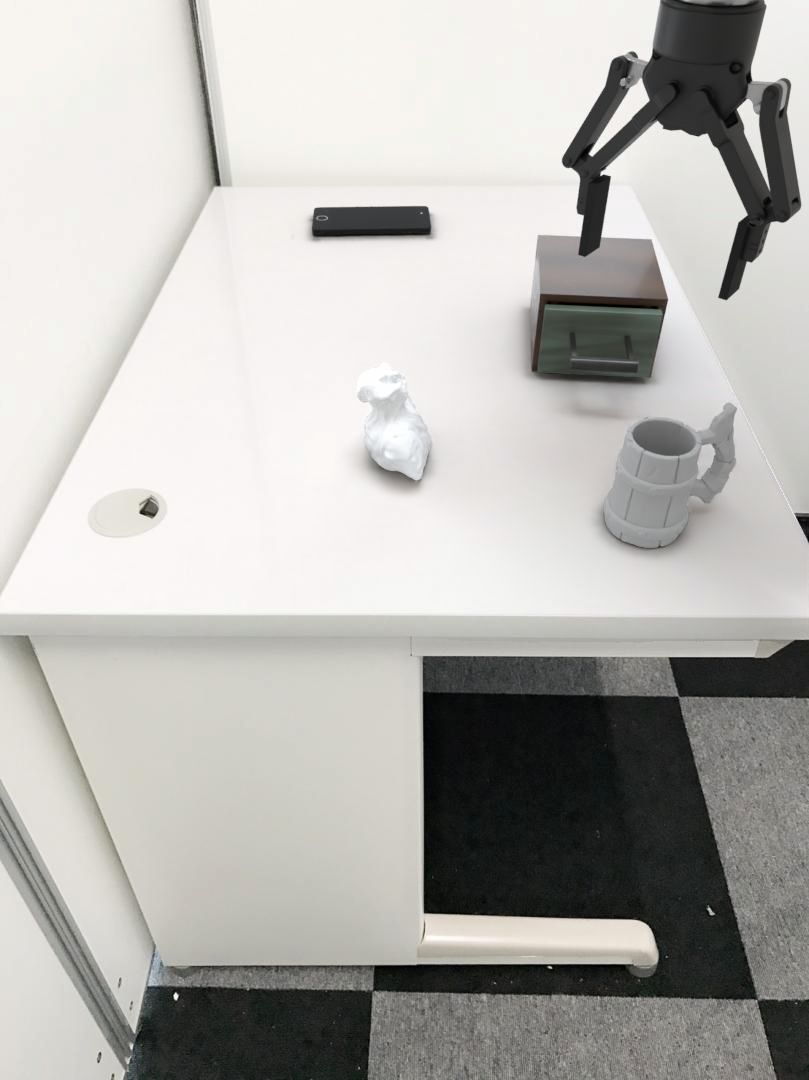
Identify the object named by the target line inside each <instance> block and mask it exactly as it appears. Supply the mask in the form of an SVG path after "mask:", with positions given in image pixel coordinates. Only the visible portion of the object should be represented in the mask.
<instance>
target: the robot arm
mask: <svg viewBox="0 0 809 1080" xmlns="http://www.w3.org/2000/svg"><path fill="white" fill-rule="evenodd" d="M766 11H767V4H766V2H765V0H659V6H658V11H657V16H656V22H655V28H654V33H653V40H652V50H651V51H652V53H651V56H650V59H649V61H647V60H644V59H641V58H639V56H638V54H637V52H635V51H633V50H632V51H628V52H626V53H625V52H624V53H622V54H621V55H619V56H616V57H614V58H613V59H611V61H610V65H609V69H608V72H607V73H608V74H607V77H606V81H605V85H604V87H603V88H602V91H601V92H600V94H599V95H598V97H597V99H596V100H595V102H594V103H593V105H592V107H591V109H590V111H589V112H588V113H587V115H586V117H585V119H584V120H583V122H582V123H581V126H580V127H579V129H578V131H577V132H576V133H575V135H574V137H573V139H572V141H571V142H570V144H569V146H567V149H566V150H565V152H564V154H563V155H562V158H561V164H562V166H563V167H564V168H566V169H571V170H573V171H574V172H576V173H577V174H578V176H579V185H578V194H577V201H576V207H575V208H576V214H577V215H581V216H583V219H582V226H581V232H580V237H581V238H580V245H579V252H578V255H580V256H584V257H586V256H587V255H589V254H590V253H592V252H593V251H595V250H596V249H598V248H599V247H600V242H601V237H602V235H603V230H604V223H605V217H606V216H605V215H606V211H607V203H608V198H609V193H610V185H611V179H612V176H611V175H608V174H604V173H603V174H602V172H604V171H605V170H607V168H608V167H609V166H610V164H612V163H613V162H614V161H616V160H617V158H619V156H621V155H622V154H623V153H624V152H625V151H626V150H627V149H628V148H630V146H631V145H632V144H634V143H635V142H636V141H637V140H638V139H639V138H640V137H641V136H643V134H645V133H646V132H647V131H648V130H649V129H650V128H651V127H653V125H654V124H656V123H657V122H658V123H659V124H660V125H661V126H662V129H663V130H666V131H670V132H673V131H682V132H684V133H686V134H688V135H689V136H693V137H698V138H699V137H701V136H703V135H707V136H708V138H709V140H710V142H711V144H712V146H713V147H714V148H716V149H717V151H718V152H719V155H720V157H721V160H722V161H723V164H724V165H725V168H726V170H727V172H728V175H729V177H730V179H731V181H732V184H733V185H734V188H735V190H736V192H737V195H738V197H739V199H740V201H741V203H742V205H743V208H744V209H745V212H746V214H747V215H745V217H743V218H742V219H741V220H739V221H738V222H737V226H736V230H735V234H734V237H733V241H732V245H731V248H730V252H729V256H728V260H727V263H726V267H725V271H724V275H723V279H722V282H721V285H720V289H719V292H718V297H717V299H721V300H724V301H728V300H729V299H730V298H731V297H732V296H733V295H734V294H736V293H737V292H738V291H739V290H740V287H741V284H742V280H743V276H744V274H745V270H746V268H747V267H746V266H747V263H753V262H754V261H756V260H757V259H758V258H759V256H761V254H763V251H764V247H765V243H766V240H767V237H768V234H769V231H770V227H771V223H777V222H778V223H781V224H783V223H787V222H788V221H789V220H790V219H792V217H794V216H795V215H796V214H797V213H798V212H800V210H801V209H802V197H801V191H800V186H799V185H800V184H799V179H798V174H797V173H798V172H797V168H796V161H795V160H796V159H795V155H794V148H793V142H792V136H791V130H790V124H789V117H788V108H789V101H790V97H791V90H792V83H791V81H790V79H788V78H786V77H782V78H780V79H778V80H776V81H760V80H753V78H752V66H753V61H754V58H755V54H756V50H757V47H758V43H759V38H760V35H761V30H762V27H763V24H764V23H763V22H764V18H765V14H766ZM640 80H642V81H641V82H642V84H643V87H644V90H645V93H646V95H647V97H648V101H647V102H646V103H645V104H644V105H643V106H642V107H641V108H640V109H639V110H638V111H637V112H636V113H635V114H634V115H633V116H632V117H631V119H630V120H629V121H627V122H626V124H625V125H623V127H621V128H620V129H619V130H618V131H617V132H616V133H615V134H614V135H613V136H612V137H610V139H609V140H608V141H607V142H606V143H604V145H603V146H602V147H600V149H598V150H597V151H596V152H595V153H594V154H593V155H591V154H590V153H591V152H592V150H593V148H594V147H595V145H596V144H597V143H598V140H599V139H600V137H601V136H602V134H603V132H604V131H605V130H606V128H607V127H608V125H609V124H610V121H611V120H612V118H613V117H614V115H615V114H616V112H617V110H618V109H619V107H620V106H621V105H622V103H623V101H624V99H625V97H626V96H627V95H628V92H629V91H630V90H631V88H632V87H634V86H636V85H637V84H638V83H639V81H640ZM747 100H750V102H751V103H752V109H753V111H754V113H755V114H756V115H757V116H758V128H759V136H760V140H761V145H762V153H763V158H764V163H765V169H766V176H767V181H768V183H767V181H766V179H765V177H764V174H763V171H762V170H761V167H760V165H759V162H758V161H757V159H756V156H755V154H754V151H753V149H752V147H751V144H750V143H749V140H748V138H747V136H746V134H745V125H744V122H743V120H742V117H741V115H740V113H739V110H738V108H740V107H741V106H742V105H743V104H744V103H745V102H746V101H747Z"/></svg>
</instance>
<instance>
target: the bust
mask: <svg viewBox="0 0 809 1080" xmlns="http://www.w3.org/2000/svg"><path fill="white" fill-rule="evenodd" d="M355 390H356V395H355V396H356V398H357V399H358V401H360V402H362V403H369V404H370V406H371V408H370V409H369V411H368V413H367V414H366V415H365V418H364V419H363V423H362V425H363V433H364V434H363V435H364V440H365V441H364V444H365V445H364V446H365V449H366V451H367V452H368V454H369V455H370V456H371V458H372V460H373V461H375V462H376V463H377V465H378V466H380V467H381V468H382V469H384V470H385V471H389V472H399V473H402V474H403V475H405V476H406V477H408V478H410V479H412V480H414V481H419V480H421V478H422V477H423V474H424V468H425V467H426V463H427V459H428V455H429V452H430V449H431V448H432V445H433V441H432V437H431V435H430V432H429V430H428V429H429V428H428V427H427V425H426V423H425V421H424V419H423V417H422V415H421V414H420V412H419V411H418V410H417V409H416V405H415V404H414V403H413V400H412V398H411V396H410V395H409V392H408V390H407V380H406V377H405V374H401V372H399V371H397V370H393V369H392V368H391V366H390V365H389V363H388V362H382V363H381V364H380V366H377V367H374V368H371V369H367V370H364V371H363V372H362V373H361V374H360V376H359V378H358V381H357V382H356V389H355Z"/></svg>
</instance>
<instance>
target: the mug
mask: <svg viewBox="0 0 809 1080" xmlns="http://www.w3.org/2000/svg"><path fill="white" fill-rule="evenodd" d="M737 410H738V408H737V407H736V406H735V405H734V404H733V403H731V402H726V403H725V404H724V405H723V407H722V411H721V412H719V414H717V415H715V416H714V418H713V419H712V420H711V422H710V424H709V427H708V428H706V429H702V430H698V431H696V430H695V429H694V428H693V427H692V426H690V425H688V424H685V423H684V422H683V421H680V420H677V419H673V418H669V417H663V416H662V417H661V416H649V417H645V418H642V419H639V420H637V421H634V422H633V423H631V424H630V425H629V427H628V428H627V430H626V433H625V436H624V440H623V445H622V448H621V449H620V450H619V451H618V453H617V456H616V459H615V475H614V479H613V483H612V487H611V488H610V489H609V490H608V492H607V493H606V495H605V498H604V502H603V513H604V522H605V525H606V527H607V529H608V531H609V532H610V533H611V534H612V535H613V536H614V537H615V538H617V539H618V540H620V541H621V542H622V543H623V542H624V543H628V544H631V545H634V546H636V547H640V548H644V549H656V548H659V546H660V547H666V546H668V545H670V544H672V543H673V542H674V541H675V540H676V539H677V538H678V537H679V536H680V534H681V533H682V532H683V530H684V529H685V528H686V527H687V524H688V522H689V516H690V508H689V505H688V504H689V500H690V497H691V496H692V497H697V498H699V499H700V500H701V501H702V502H703V503H704V504H710V503H712V501H713V500H714V499H715V497H716V496H717V495H718V494H721V493H722V492H723V490H724V488H725V486H726V484H727V482H728V481H729V478H730V474H731V473H732V472H733V470H734V468H735V466H736V464H737V458H736V445H735V440H734V432H735V427H734V424H735V423H734V421H735V415H736V413H737ZM706 445H707V446H708V445H711V446H712V448H713V449H714V455H713V460H712V462H711V464H710V467H708V468H707V469H706V470H705V471H704V473H703V474H702V475H701V476H700V478H698V476H699V464H698V462H699V458H700V454H701V450H702V446H706Z"/></svg>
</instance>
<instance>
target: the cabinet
mask: <svg viewBox="0 0 809 1080" xmlns="http://www.w3.org/2000/svg"><path fill="white" fill-rule="evenodd" d="M580 238H581V236H579V235H578V236H576V235H575V236H574V235H552V234H551V235H549V234H537V238H536V248H535V257H534V266H533V277H532V284H531V295H530V303H529V323H530V324H529V326H530V327H529V328H530V331H529V332H530V368H531V369H530V371H531V372H534V373H535V372H536V373H537V372H538V368H537V366H538V358H539V350H540V341H541V333H542V324H543V316H544V308H545V304H547V301H550V302H572V303H595V304H617V305H640V306H652V308H651V309H660V310H662V314H663V316H662V320H661V325H660V329H659V334H658V338H657V343H656V347H655V352H654V356H653V361H652V365H651V370H650V374H649V378H652V374H653V370H654V365H655V360H656V357H657V352H658V347H659V342H660V338H661V334H662V329H663V325H664V320H665V315H666V311H667V306H668V303H669V297H668V294H667V290H666V287H665V283H664V279H663V277H662V276H663V275H662V272H661V268H660V265H659V261H658V258H657V254H656V250H655V247H654V243H653V239H651V238H631V237H630V238H629V237H628V238H627V237H626V238H625V237H605V236H604V237H602V236H601V242H600V247H599V248H598V249H596V250H595V251H593V252H592V253H590V254H589V255H587V256H586V257H584V256H580V255H578V252H579V245H580ZM538 373H539V372H538Z"/></svg>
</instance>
